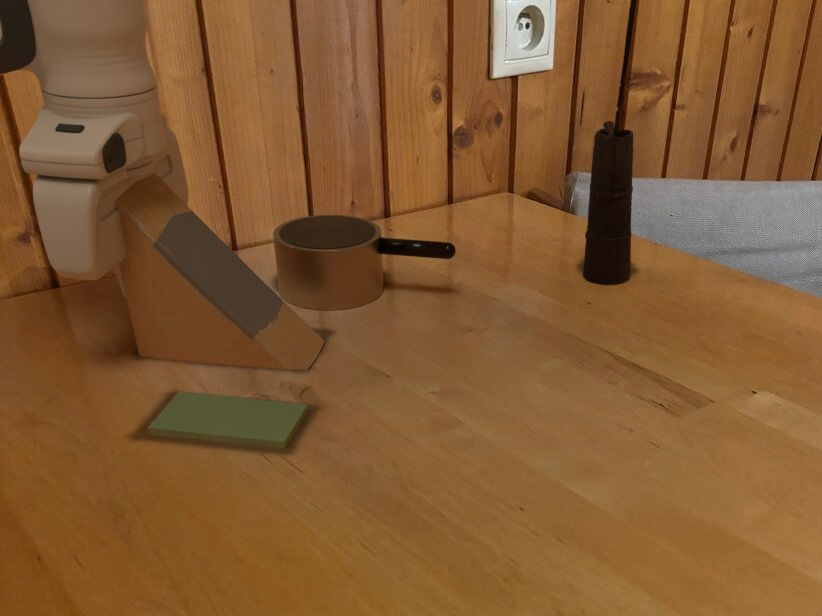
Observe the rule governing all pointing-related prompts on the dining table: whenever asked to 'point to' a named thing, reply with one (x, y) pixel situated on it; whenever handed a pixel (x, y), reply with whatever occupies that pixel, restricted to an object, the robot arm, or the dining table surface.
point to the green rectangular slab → (229, 419)
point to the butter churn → (611, 194)
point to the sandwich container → (200, 291)
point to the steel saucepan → (339, 260)
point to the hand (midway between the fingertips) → (138, 292)
